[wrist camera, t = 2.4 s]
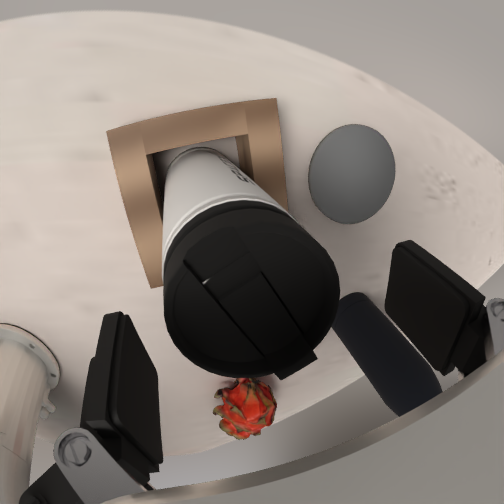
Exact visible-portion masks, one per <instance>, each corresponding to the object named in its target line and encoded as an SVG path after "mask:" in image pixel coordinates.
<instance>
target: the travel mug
mask: <svg viewBox="0 0 504 504" xmlns="http://www.w3.org/2000/svg"><path fill="white" fill-rule="evenodd" d="M162 280H163V286H164V290H163V295H164V318H165V322H166V326H167V331H168V333H169V335H170V337H171V339H172V341H173V343H174V344H175V346H176V347H177V348H178V349H179V350H180V352H181V353H182V354H183V355H184V356H185V357H186V358H188V359H189V360H190V361H191V362H193V363H194V364H195V365H197V366H199V367H201V368H203V369H204V370H206V371H208V372H211V373H214V374H217V375H221V376H225V377H232V378H255V377H261V376H266V375H270V374H273V373H274V374H275V375H276V376H277V377H278V378H279V379H280V380H283V379H285V378H286V377H288V376H290V375H292V374H293V373H295V372H297V371H299V370H300V369H302V368H304V367H305V366H307V365H309V364H310V363H312V362H313V361H315V360H317V359H318V358H317V357H316V355H315V353H314V351H313V350H314V349H315V348H316V347H317V346H318V345H319V344H320V343H321V341H322V340H323V339H324V337H325V336H326V335H327V333H328V332H329V330H330V328H331V326H332V324H333V322H334V320H335V317H336V313H337V310H338V307H339V298H340V285H339V276H338V273H337V271H336V268H335V265H334V262H333V261H332V259H331V258H330V256H329V254H328V253H327V251H326V250H325V249H324V248H323V247H322V246H321V245H320V244H319V243H318V242H317V241H316V240H315V239H314V238H313V237H312V236H311V235H310V234H309V233H307V232H306V231H305V230H304V229H303V228H302V227H301V226H300V225H299V223H298V222H297V220H296V219H295V218H294V217H292V216H291V215H290V214H289V213H288V212H287V211H286V210H285V209H284V208H283V207H282V206H280V205H279V204H278V203H277V202H276V201H275V200H274V199H273V198H272V197H270V196H269V195H268V194H267V193H266V192H265V191H264V190H263V189H261V188H260V187H259V186H258V185H257V184H256V183H255V182H253V181H252V180H251V179H250V178H249V177H248V176H247V175H245V174H244V173H243V172H242V171H241V170H240V169H238V168H237V167H236V166H235V165H234V164H233V163H231V162H230V161H229V160H228V159H227V158H226V157H224V156H223V155H222V154H221V153H219V152H218V151H216V150H214V149H210V148H205V147H197V148H192V149H188V150H186V151H184V152H182V153H181V154H179V155H178V156H177V157H176V158H175V159H174V160H173V161H172V163H171V164H170V166H169V168H168V171H167V174H166V181H165V196H164V214H163V240H162Z"/></svg>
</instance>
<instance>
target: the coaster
mask: <svg viewBox="0 0 504 504" xmlns="http://www.w3.org/2000/svg"><path fill="white" fill-rule="evenodd" d="M394 179H395V160H394V156H393V152H392V150H391V147H390V145H389V144H388V142H387V141H386V139H385V138H384V137H383V136H382V135H381V134H380V133H379V132H378V131H376V130H374V129H373V128H370V127H368V126H363V125H358V124H351V125H345V126H342V127H339V128H337V129H335V130H333V131H332V132H330V133H329V134H328V135H327V136H326V137H325V138H324V139H323V140H322V141H321V142H320V144H319V145H318V147H317V148H316V150H315V152H314V154H313V156H312V159H311V163H310V167H309V174H308V182H309V189H310V193H311V196H312V198H313V201H314V203H315V204H316V206H317V207H318V209H319V210H320V211H321V212H322V213H323V214H324V215H326V216H327V217H329V218H330V219H332V220H334V221H336V222H339V223H343V224H354V223H358V222H362V221H364V220H366V219H368V218H370V217H371V216H373V215H374V214H375V213H376V212H377V211H378V210H380V208H381V207H382V206H383V205H384V203H385V202H386V200H387V199H388V197H389V195H390V193H391V190H392V187H393V184H394Z"/></svg>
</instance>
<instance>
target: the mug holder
mask: <svg viewBox="0 0 504 504" xmlns="http://www.w3.org/2000/svg"><path fill="white" fill-rule="evenodd" d="M106 132H107V137H108V142H109V146H110V151H111V155H112V160H113V164H114V168H115V172H116V176H117V180H118V184H119V188H120V192H121V195H122V199H123V203H124V206H125V210H126V213H127V217H128V220H129V224H130V227H131V230H132V234H133V237H134V240H135V243H136V246H137V249H138V252H139V256H140V259H141V262H142V264H143V267H144V270H145V273H146V276H147V279H148V282H149V285H150V287H151V288H156V287H160V286H163V280H162V240H163V214H164V205H163V201H162V197H161V193H160V189H159V184H158V180H157V175H156V171H155V166H154V162H153V157H152V153H155V152H159V151H163V150H168V149H172V148H176V147H181V146H185V145H190V144H195V143H200V142H205V141H210V140H215V139H221V138H227V137H232V136H236V143H237V150H238V157H239V164H240V170H241V171H242V172H243V173H244V174H245V175H247V176H248V177H249V178H250V179H251V180H252V181H253V182H255V183H256V184H257V185H258V186H259V187H260V188H261V189H263V190H264V191H265V192H266V193H267V194H268V195H269V196H270V197H272V198H273V199H274V200H275V201H276V202H277V203H278V204H279V205H280V206H282V207H283V208H284V209H285V210H286V211H287V212H288V204H287V193H286V182H285V172H284V162H283V152H282V143H281V134H280V125H279V116H278V108H277V100H276V98H271V99H261V100H252V101H244V102H237V103H230V104H223V105H217V106H211V107H205V108H199V109H194V110H189V111H184V112H179V113H174V114H170V115H165V116H161V117H157V118H152V119H148V120H144V121H140V122H137V123H133V124H129V125H126V126H122V127H119V128H115V129H112V130H109V131H106Z"/></svg>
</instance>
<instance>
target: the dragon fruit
mask: <svg viewBox="0 0 504 504" xmlns="http://www.w3.org/2000/svg"><path fill="white" fill-rule="evenodd" d="M236 381H237V382H236ZM238 382H239V385H237V386H236V387H235V388H234V389H233V390H231V389H229V388H224V389H219V390H217V392H216V394H215V396H214V398H220V397H222V400H223V402H224V405H219V406H217V407H215V408H214V410H213V414H214V415H216V413H217V414H218V415H220V416H221V417H222V418H224V419H222V420H221V421H220V423H219V427H220V429H222V430H223V431H224V432H226V433H227V434H228V435H230V436H234V437H235V438H236V439H243V440H244V439H247V438H248V437H249V436H250V434H252V435H254V436H256V435H260V434H261V432H260V431H261V429H262V428H263V427H265V426H270V425H271V424H272V423H273V421H274V415H275V411H276V408H277V403H276V400H275V399H274V396H273V393H272V392H271V391H272V390H271V388H270V386H269V385H268V387H267V386H266V385H265V384H264V383H263V382H261V381H259V380H255V379H254V378H237V379H236V380H235V382H234V384H235V383H238Z"/></svg>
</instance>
